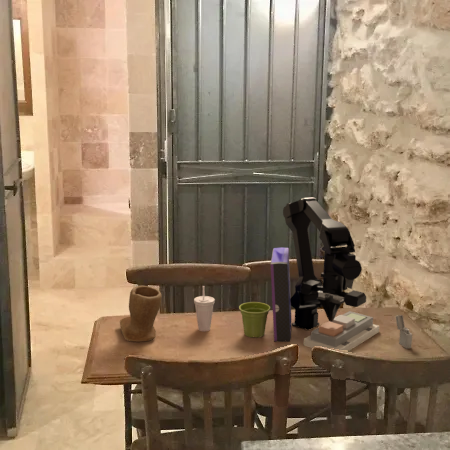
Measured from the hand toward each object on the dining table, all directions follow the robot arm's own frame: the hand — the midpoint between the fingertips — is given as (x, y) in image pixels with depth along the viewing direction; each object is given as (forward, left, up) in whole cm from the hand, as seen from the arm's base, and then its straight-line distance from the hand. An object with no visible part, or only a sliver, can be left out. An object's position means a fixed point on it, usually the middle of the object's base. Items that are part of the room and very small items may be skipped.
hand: (331, 321), depth 191 cm
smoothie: (-36, -15, -8) cm, 40 cm away
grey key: (0, +7, -4) cm, 8 cm away
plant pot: (-22, -8, -8) cm, 24 cm away
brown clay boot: (-47, -30, -8) cm, 57 cm away
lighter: (+15, +15, -8) cm, 23 cm away
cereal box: (-17, 0, -8) cm, 18 cm away
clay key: (0, 0, -4) cm, 4 cm away
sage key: (0, +14, -5) cm, 15 cm away
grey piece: (0, +7, -8) cm, 10 cm away
